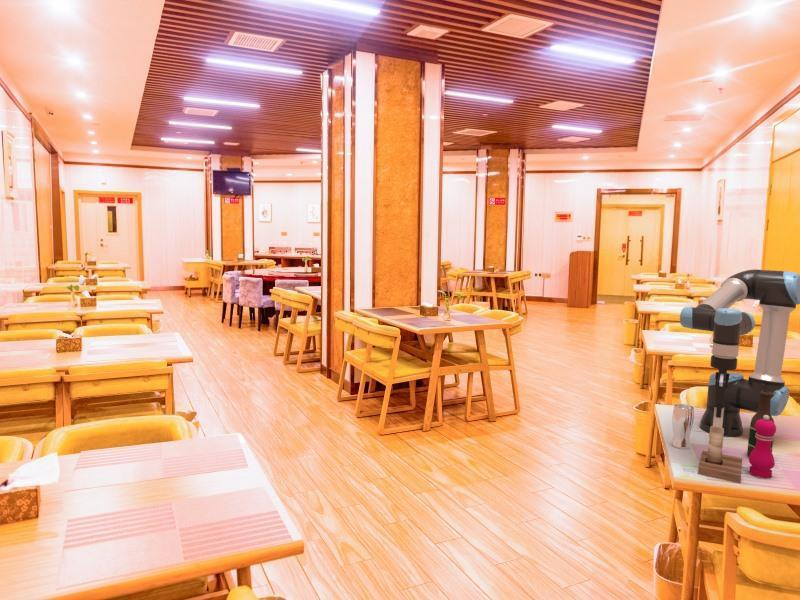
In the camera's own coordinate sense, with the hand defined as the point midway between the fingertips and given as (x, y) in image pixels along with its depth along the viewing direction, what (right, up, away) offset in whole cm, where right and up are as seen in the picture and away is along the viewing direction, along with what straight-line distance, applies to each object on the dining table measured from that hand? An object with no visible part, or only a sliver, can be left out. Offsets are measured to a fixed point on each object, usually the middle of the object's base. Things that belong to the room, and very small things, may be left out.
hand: (717, 426), depth 192 cm
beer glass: (-2, -12, +22) cm, 25 cm away
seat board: (+2, -15, +1) cm, 15 cm away
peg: (0, -15, +2) cm, 15 cm away
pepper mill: (+13, -16, -2) cm, 20 cm away
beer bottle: (+21, -14, +12) cm, 28 cm away
